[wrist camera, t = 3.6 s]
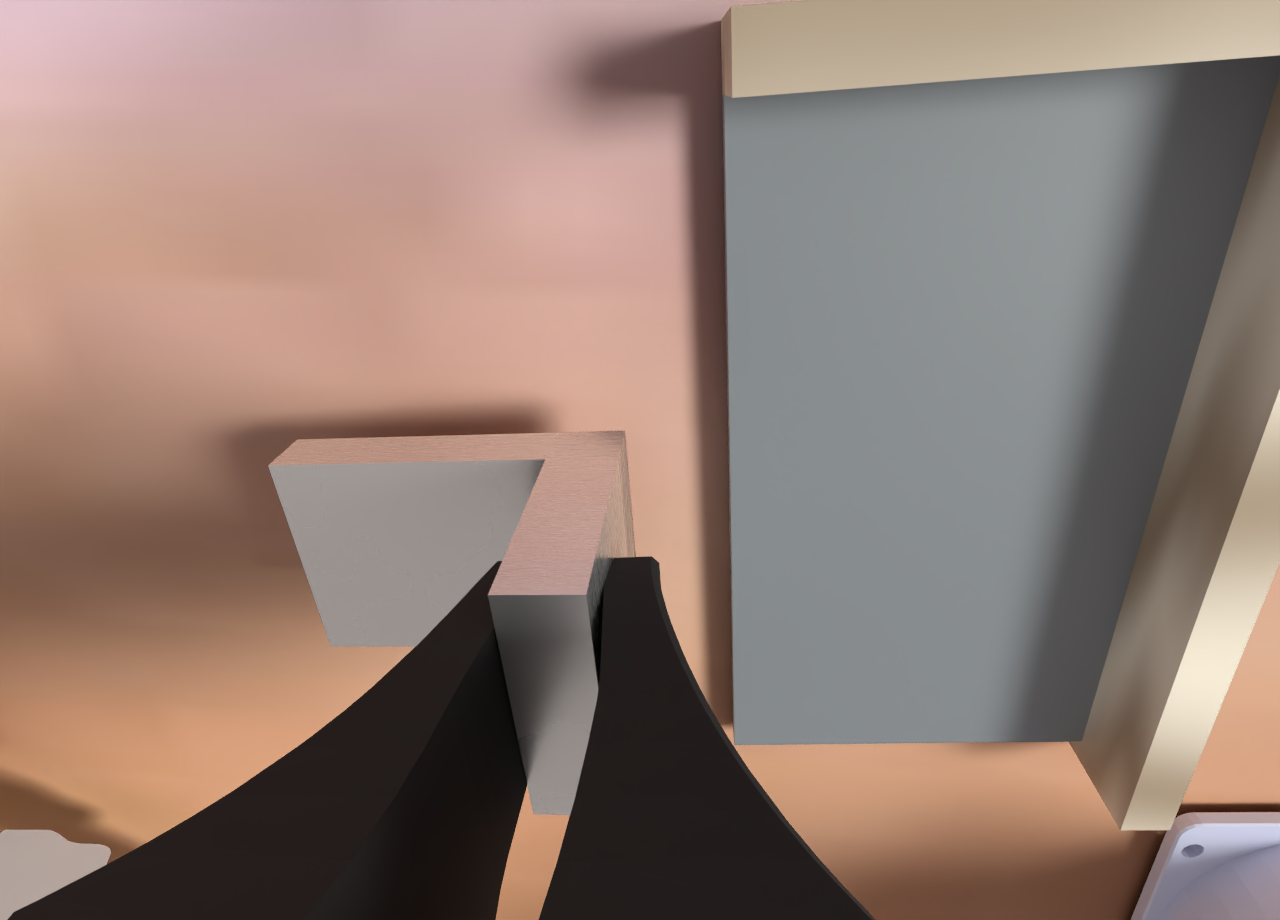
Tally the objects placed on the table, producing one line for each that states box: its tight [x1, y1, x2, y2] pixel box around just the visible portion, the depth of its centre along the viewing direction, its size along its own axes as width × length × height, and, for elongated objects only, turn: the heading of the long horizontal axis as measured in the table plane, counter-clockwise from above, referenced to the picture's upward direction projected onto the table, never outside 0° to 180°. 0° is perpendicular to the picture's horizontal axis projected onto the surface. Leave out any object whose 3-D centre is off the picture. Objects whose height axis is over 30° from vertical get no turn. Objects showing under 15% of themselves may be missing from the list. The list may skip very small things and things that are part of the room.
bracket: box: [268, 431, 636, 815], centre depth 12 cm, size 6×4×4 cm, turn 94°
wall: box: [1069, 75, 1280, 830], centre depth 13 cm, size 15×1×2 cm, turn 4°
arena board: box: [722, 55, 1280, 745], centre depth 14 cm, size 14×8×1 cm, turn 4°
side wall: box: [721, 0, 1280, 98], centre depth 10 cm, size 1×8×2 cm, turn 95°
